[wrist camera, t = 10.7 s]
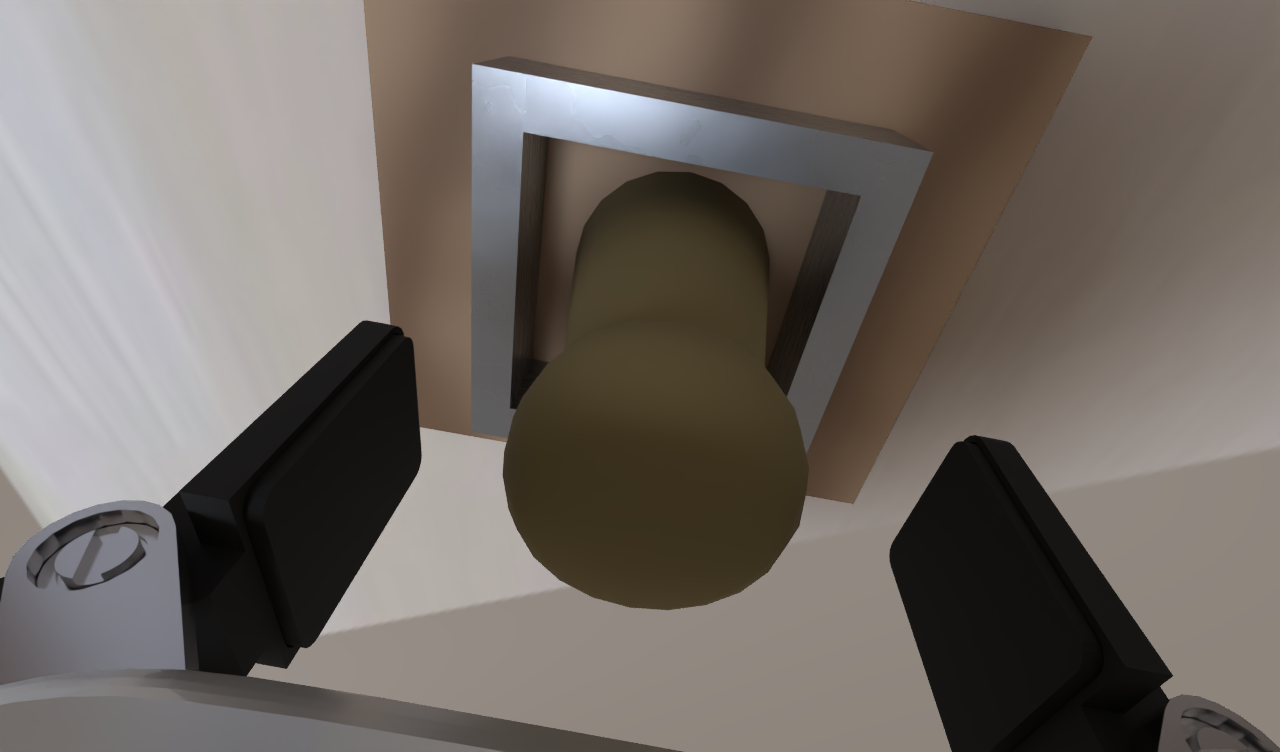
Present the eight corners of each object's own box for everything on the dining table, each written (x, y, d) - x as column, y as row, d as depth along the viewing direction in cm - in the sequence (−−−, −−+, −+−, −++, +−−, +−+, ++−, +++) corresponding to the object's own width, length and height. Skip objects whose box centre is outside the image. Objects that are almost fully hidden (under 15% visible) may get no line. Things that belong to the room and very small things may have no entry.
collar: (893, 129, 15) (933, 152, 13) (779, 431, 21) (791, 488, 18) (509, 56, 15) (472, 63, 12) (498, 380, 21) (470, 431, 18)
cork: (741, 368, 20) (785, 686, 10) (567, 337, 19) (452, 630, 10) (795, 191, 16) (931, 422, 7) (586, 152, 16) (442, 336, 7)
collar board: (1065, 35, 15) (1092, 37, 14) (846, 482, 23) (853, 503, 22) (378, -101, 14) (354, -109, 13) (411, 405, 23) (398, 423, 22)
